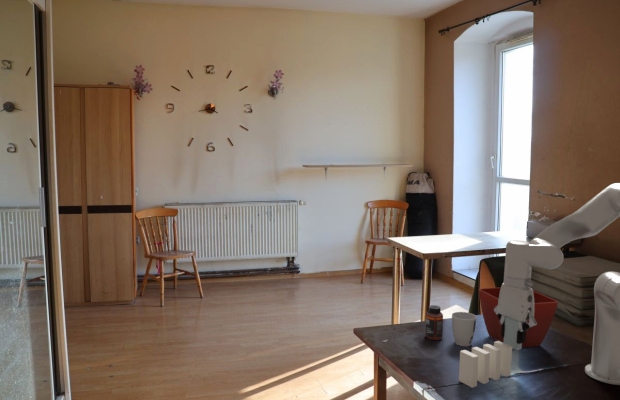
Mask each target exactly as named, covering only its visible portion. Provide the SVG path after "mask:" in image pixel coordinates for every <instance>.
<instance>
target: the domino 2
mask: <svg viewBox="0 0 620 400" xmlns="http://www.w3.org/2000/svg"><path fill="white" fill-rule="evenodd" d="M471 353H473V354H475V355H477V356H478V374H477V382H478V383H481V384H483V385H485V384H488V383H489V380H490V377H489V364H490V352H487V351H485V350H483V348H480V347H478V346H474V347H471Z"/></svg>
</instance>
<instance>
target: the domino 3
mask: <svg viewBox="0 0 620 400" xmlns="http://www.w3.org/2000/svg"><path fill="white" fill-rule="evenodd" d="M482 349H483V350H485V351H487V352H490V364H489V379H492V380H493V381H497V380H500V379H501V374H500V365H501V349H499V348H497V347H494V345H492V344H489V343H485V344H483V345H482Z"/></svg>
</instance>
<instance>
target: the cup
mask: <svg viewBox="0 0 620 400" xmlns="http://www.w3.org/2000/svg"><path fill="white" fill-rule="evenodd" d="M476 324H477V316H476V315H475V314H474V313H470V312H466V311H465V312H464V311H456V312H453V313H451V325H452V326H451V328H452V333H453V339H454V342H455V345H457V346H459V345H460V346H459V347H469V346H471V344H472V342H473V340H474V337H475V333H476V332H475V331H476Z"/></svg>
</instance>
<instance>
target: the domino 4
mask: <svg viewBox="0 0 620 400" xmlns="http://www.w3.org/2000/svg"><path fill="white" fill-rule="evenodd" d="M493 346H494V347H497V348H499V349H501V365H500V376H501V375H502V376H504V377H505V378H506V377H509V376H511V375H512V361H513V360H512V356H513V349H512V346H510V345H507V344H505V343H503V342H500V341H497V340H495V341H494V342H493Z"/></svg>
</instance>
